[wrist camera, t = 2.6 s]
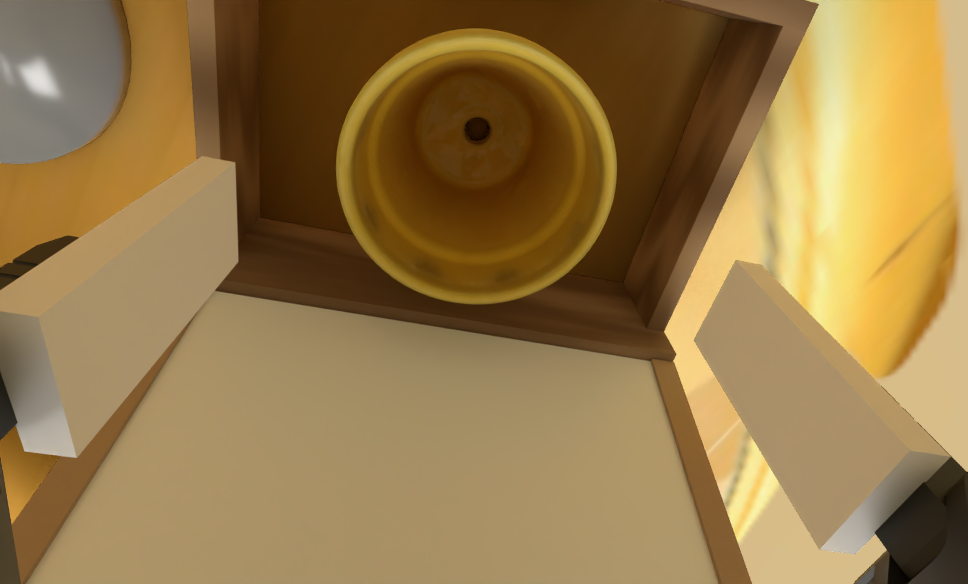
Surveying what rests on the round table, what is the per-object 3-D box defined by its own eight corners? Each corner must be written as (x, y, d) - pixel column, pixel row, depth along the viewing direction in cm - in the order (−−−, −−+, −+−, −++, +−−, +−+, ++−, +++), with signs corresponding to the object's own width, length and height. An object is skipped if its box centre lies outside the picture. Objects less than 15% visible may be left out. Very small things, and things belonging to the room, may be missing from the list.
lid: (644, 415, 29) (803, 805, 15) (191, 348, 26) (-122, 762, 12) (672, 359, 27) (883, 750, 13) (185, 280, 24) (-197, 682, 10)
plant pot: (535, -24, 24) (571, -26, 16) (596, 177, 29) (648, 257, 21) (338, 68, 26) (276, 109, 17) (427, 242, 31) (412, 340, 22)
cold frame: (632, 299, 33) (668, 369, 27) (242, 230, 30) (185, 292, 24) (758, 0, 25) (850, 6, 19) (233, -139, 22) (143, -184, 16)
